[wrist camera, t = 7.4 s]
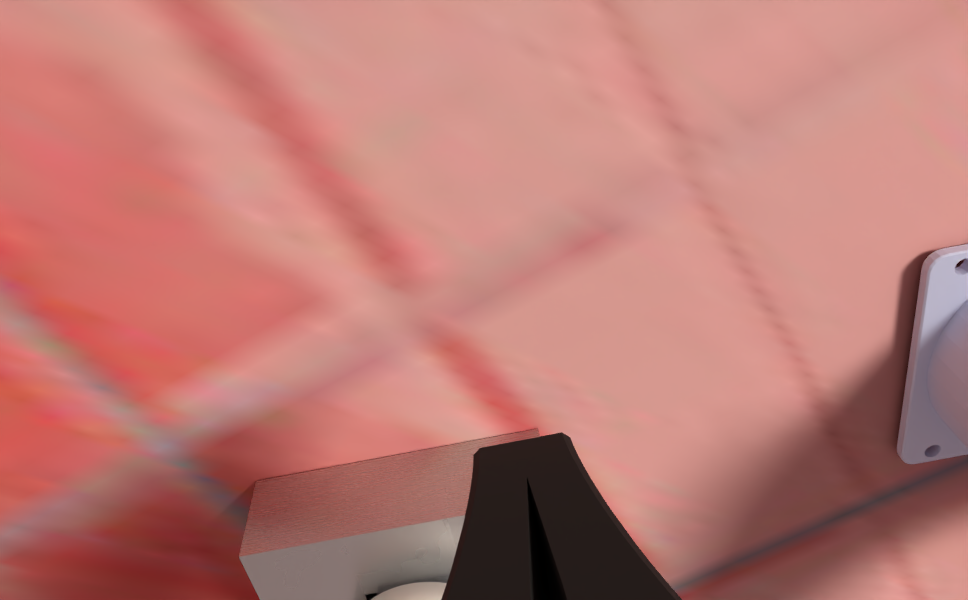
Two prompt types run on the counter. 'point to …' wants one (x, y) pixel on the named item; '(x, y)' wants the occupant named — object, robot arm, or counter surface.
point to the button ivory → (414, 591)
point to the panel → (361, 524)
